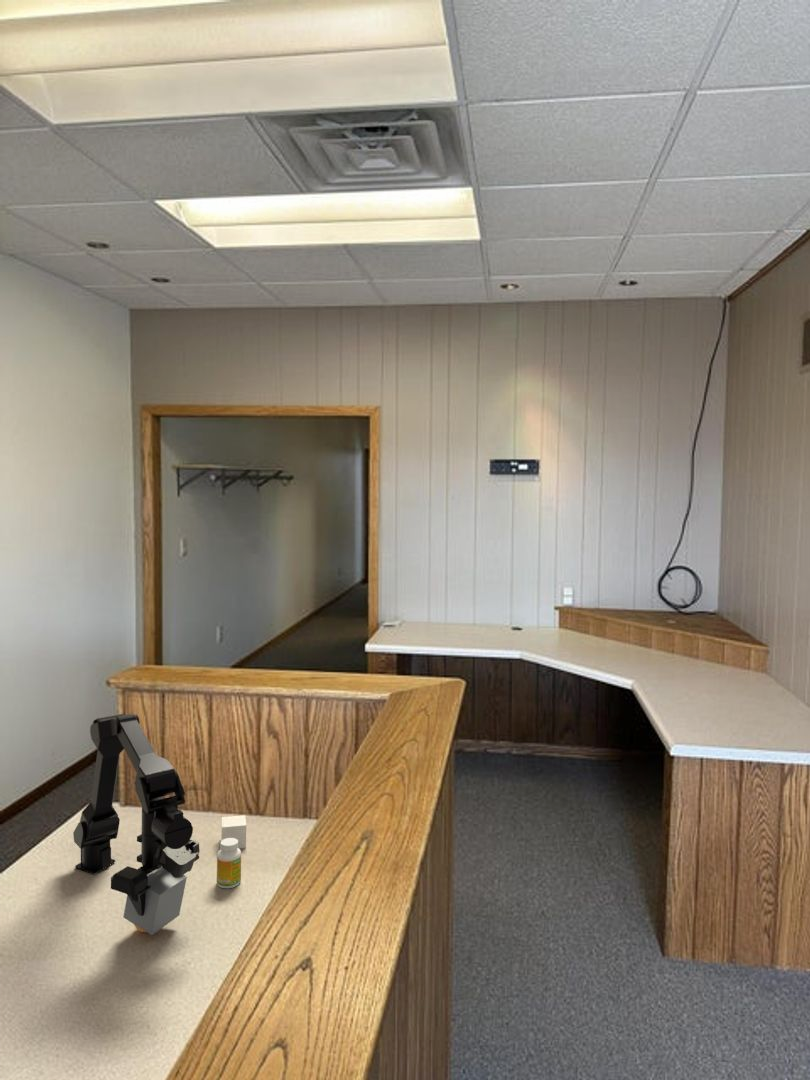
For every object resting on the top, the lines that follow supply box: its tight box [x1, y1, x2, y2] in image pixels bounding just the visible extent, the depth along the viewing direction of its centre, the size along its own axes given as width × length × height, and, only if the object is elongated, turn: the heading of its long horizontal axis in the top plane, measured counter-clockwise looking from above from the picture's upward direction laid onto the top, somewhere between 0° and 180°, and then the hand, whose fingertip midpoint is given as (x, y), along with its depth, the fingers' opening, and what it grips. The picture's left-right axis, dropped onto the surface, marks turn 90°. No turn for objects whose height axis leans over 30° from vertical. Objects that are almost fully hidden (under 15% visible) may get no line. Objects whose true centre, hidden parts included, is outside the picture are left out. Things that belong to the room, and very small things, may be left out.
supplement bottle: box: [216, 838, 242, 889], centre depth 165 cm, size 5×5×10 cm
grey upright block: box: [122, 867, 188, 936], centre depth 146 cm, size 8×8×9 cm
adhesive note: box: [220, 814, 247, 850], centre depth 184 cm, size 6×6×6 cm
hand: (155, 905), depth 146 cm, fingers closed on grey upright block, 8 cm apart
